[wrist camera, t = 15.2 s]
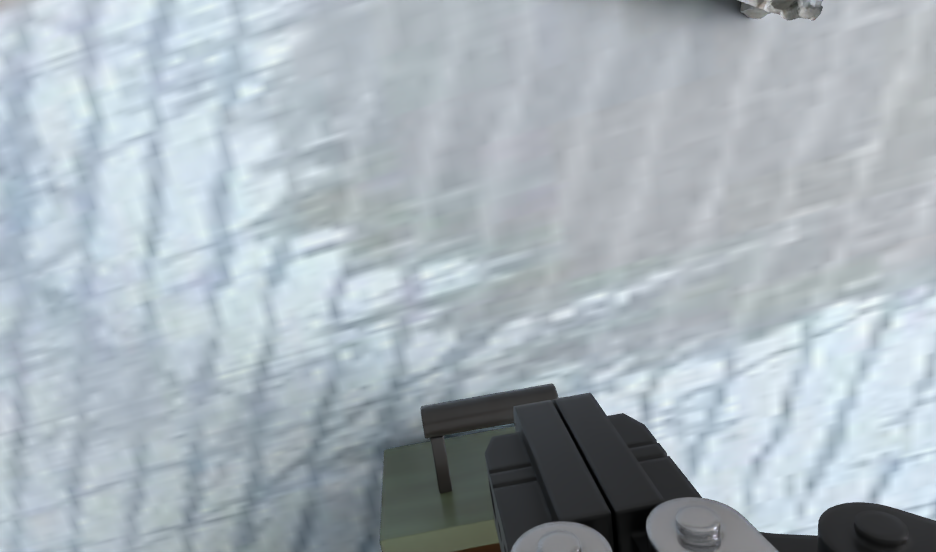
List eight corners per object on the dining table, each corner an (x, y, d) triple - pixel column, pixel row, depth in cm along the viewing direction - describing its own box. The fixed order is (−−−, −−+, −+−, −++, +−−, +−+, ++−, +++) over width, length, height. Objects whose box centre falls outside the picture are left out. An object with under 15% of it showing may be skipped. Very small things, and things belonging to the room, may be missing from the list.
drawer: (369, 375, 31) (360, 450, 24) (579, 340, 32) (630, 402, 25) (423, 654, 36) (429, 785, 29) (605, 617, 36) (654, 736, 29)
